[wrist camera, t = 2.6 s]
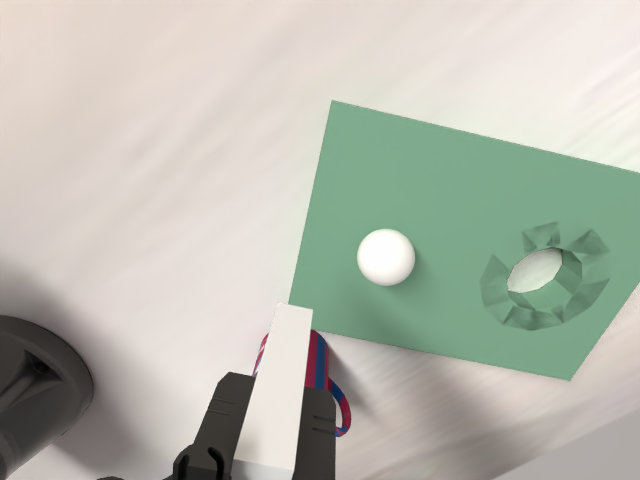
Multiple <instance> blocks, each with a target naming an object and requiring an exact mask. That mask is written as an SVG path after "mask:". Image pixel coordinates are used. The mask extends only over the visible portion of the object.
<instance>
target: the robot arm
mask: <svg viewBox="0 0 640 480" xmlns="http://www.w3.org/2000/svg"><path fill="white" fill-rule="evenodd" d="M312 313H313V309H308V308H303V307H298V306H294V305H289V304H284V303H279V302H278V303H277V307H276V310H275V314H274V317H273V321H272V324H271V328H270V331H269V335H268V338H267V342H266V345H265V349H264V352H263V356H262V359H261V363H260V366H259V370H258V374H257V377H253V376H248V375H243V374H238V373H233V372H228V373H227V374H226V375H225V376H224V377H223V378H222V379H221V380H220V381H219V382H218V384H217V387H216V389H215V392H214V394H213V397H212V399H211V402H210V404H209V406H208V410H207V411H206V414H205V416H204V419H203V421H202V424H201V426H200V428H199V431H198V433H197V436H196V438H195V441H194V443H193V444H192V445H189V446H188V447H187V448H185V449H184V450H183V451H182V452H180V454H179V455H178V457H177V458H176V460H175V461H174V463H173V474H172V475H171V476H169V477H167V478H165V479H163V480H335V446H336V435H335V433H336V423H335V421H336V404H335V402H334V399H333V397H332V394H331V392H330V391H327V390H322V389H317V388H312V387H307V386H304V382H305V373H306V364H307V356H308V347H309V339H310V330H311V322H312ZM92 396H93V384H92V379H91V376H90V374H89V371H88V369H87V368H86V366H85V364H84V363H83V361H82V360H81V359H80V357H79V356H78V355H77V354H76V353H75V352H74V351H73V350H72V349H71V348H70V347H69V346H68V345H67V344H66V343H65V342H63V341H62V340H61V339H59V338H58V337H57V336H55V335H53V334H52V333H50V332H49V331H47V330H45V329H43V328H41V327H39V326H37V325H35V324H32V323H30V322H27V321H24V320H21V319H17V318H13V317H9V316H2V315H0V480H6V479H7V478H8V477H9V475H10V474H12V473H13V472H14V471H15V470H16V469H18V468H19V467H20V466H22V465H23V464H24V463H26V462H27V461H28V460H30V459H31V458H32V457H34V456H35V455H36V454H38V453H39V452H40V451H42V450H43V449H44V448H45V447H47V446H48V445H49V444H50V443H52V442H53V441H54V440H55V439H57V438H58V437H59V436H61V435H63V434H64V433H65V432H67V431H68V430H69V429H70V428H71V427H72V426H73V425H74V424H75V423H76V422H77V420H78V419H79V418H80V417H81V415H82V414H83V413H84V411H85V410H86V409H87V407H88V406H89V404H90V402H91V400H92ZM97 480H124V479H122V478H118V477H113V476H111V477H105V478H100V479H97Z"/></svg>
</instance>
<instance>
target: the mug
mask: <svg viewBox="0 0 640 480" xmlns="http://www.w3.org/2000/svg"><path fill="white" fill-rule="evenodd" d="M268 335H269V333H268V334H267V335H266V336H265V338H264V339H263V341H262V343H261V347H260V350H259V354H258V357H257V361H256V364H255V368H254V371H253V375H252V376H253V377H257V374H258V370H259V366H260V363H261V359H262V356H263V352H264V349H265V345H266V342H267V338H268ZM328 357H329V352H328V347H327V344H326V342H325V341H324V339H323V338H322V337H321V336H320V335H319V334H318V333H317V332H315V331H314V330H312V329H311V330H310V339H309V347H308V356H307V364H306V373H305V382H304V386H307V387H312V388H317V389H322V390H327V391H328V390H329V391H330V392H331V393H332V395H333V396H334V397H335V399H336V400H337V402H338V404H339V406H340V409H341V412H342V428H339V427H336V433H335V435H336V437H340V436H342V435H344V434H345V433H346V432H347V431H348V430H349V428H350V425H351V412H350V407H349V404H348V401H347V399H346V397H345V395H344V394H343V393H342V391H341V390H340V389H339V387H338V386H337V385H336V384H335V383H334V382H333V381H332V380H331V379H330V378H329V377H328Z"/></svg>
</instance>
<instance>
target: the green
mask: <svg viewBox="0 0 640 480" xmlns="http://www.w3.org/2000/svg"><path fill="white" fill-rule="evenodd" d="M379 229H393V230H396V231H398V232H400V233H402V234H403V235H405V236H406V237H407V238H408V239H409V241H410V242H411V243H412V245H413V248H414V251H415V264H414V267H413V270H412V271H411V273H410V274H409V276H408V277H407V278H406V279H405V280H403V281H402V282H400V283H398V284H395V285H391V286H382V285H378V284H375V283H373V282H371V281H369V280H368V279H367V278H366V277H365V276H364V275H363V274H362V272H361V270H360V268H359V266H358V262H357V252H358V248H359V246H360V244H361V242H362V240H363V239H364V238H365V237H366V236H367V235H368V234H370V233H371V232H373V231H376V230H379ZM550 247H555V248H560V249H562V262H563V264H562V266H561V268H560V269H559V271H558V273H557V274H556V276H555V278H554V279H553V280H552V281H550V282H549V283H547V284H546V285H544V286H543V287H542V288H540V289H539V290H534V291H530V292H526V293H516V292H512V291H508V290H507V282H506V281H507V279H508V277H509V275H510V273H511V271H512V269H513V267H514V265H515V264H516V263H518V262H519V261H520V260H522V259H523V258H524V257H526V256H527V255H528V254H530V253H531V252H534V251H538V250H542V249H546V248H550ZM639 282H640V173H638V172H634V171H630V170H625V169H621V168H617V167H613V166H609V165H604V164H600V163H596V162H592V161H587V160H583V159H579V158H575V157H571V156H566V155H562V154H558V153H554V152H549V151H545V150H541V149H537V148H532V147H528V146H524V145H520V144H516V143H511V142H507V141H503V140H499V139H494V138H490V137H486V136H482V135H478V134H473V133H469V132H465V131H461V130H456V129H452V128H448V127H444V126H439V125H435V124H431V123H427V122H423V121H418V120H414V119H410V118H406V117H401V116H397V115H393V114H389V113H384V112H380V111H376V110H372V109H368V108H363V107H359V106H355V105H351V104H346V103H342V102H338V101H334V100H332V102H331V106H330V111H329V116H328V120H327V125H326V130H325V134H324V139H323V144H322V148H321V153H320V158H319V162H318V167H317V172H316V176H315V181H314V186H313V190H312V195H311V200H310V204H309V209H308V214H307V218H306V223H305V228H304V232H303V237H302V242H301V246H300V251H299V256H298V260H297V265H296V270H295V274H294V279H293V284H292V288H291V293H290V298H289V302H288V304H289V305H294V306H298V307H303V308H308V309H313V313H312V322H311V329H313V330H318V331H323V332H328V333H333V334H338V335H343V336H348V337H353V338H358V339H363V340H368V341H373V342H378V343H383V344H388V345H393V346H398V347H403V348H408V349H413V350H418V351H423V352H428V353H433V354H438V355H443V356H448V357H453V358H458V359H463V360H468V361H473V362H478V363H483V364H488V365H493V366H498V367H503V368H508V369H513V370H518V371H523V372H528V373H533V374H538V375H543V376H548V377H553V378H558V379H563V380H568V381H570V380H571V378H572V377H573V375H574V374H575V373H576V371H577V370H578V368H579V367H580V366H581V364H582V363H583V361H584V360H585V358H586V357H587V356H588V354H589V353H590V351H591V350H592V349H593V347H594V346H595V344H596V343H597V341H598V340H599V339H600V337H601V336H602V334H603V333H604V332H605V330H606V329H607V327H608V326H609V324H610V323H611V322H612V320H613V319H614V317H615V316H616V315H617V313H618V312H619V310H620V309H621V307H622V306H623V305H624V303H625V302H626V300H627V299H628V298H629V296H630V295H631V293H632V292H633V290H634V289H635V288H636V286H637V285H638V283H639Z"/></svg>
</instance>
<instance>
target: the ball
mask: <svg viewBox="0 0 640 480" xmlns="http://www.w3.org/2000/svg"><path fill="white" fill-rule="evenodd" d="M357 262H358V266H359V268H360V270H361V272H362V274H363V275H364V276H365V277H366V278H367V279H368V280H369V281H371V282H373V283H375V284H378V285H382V286H391V285H395V284H398V283H400V282H402V281H403V280H405V279H406V278H407V277H408V276H409V274H410V273H411V271H412V270H413V267H414V264H415V251H414V248H413V245H412V243H411V242H410V241H409V239H408V238H407V237H406V236H405V235H403V234H402V233H400V232H398V231H396V230H393V229H379V230H376V231H373V232H371V233H370V234H368V235H367V236H366V237H365V238H364V239H363V240H362V242H361V244H360V246H359V248H358V252H357Z"/></svg>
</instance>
